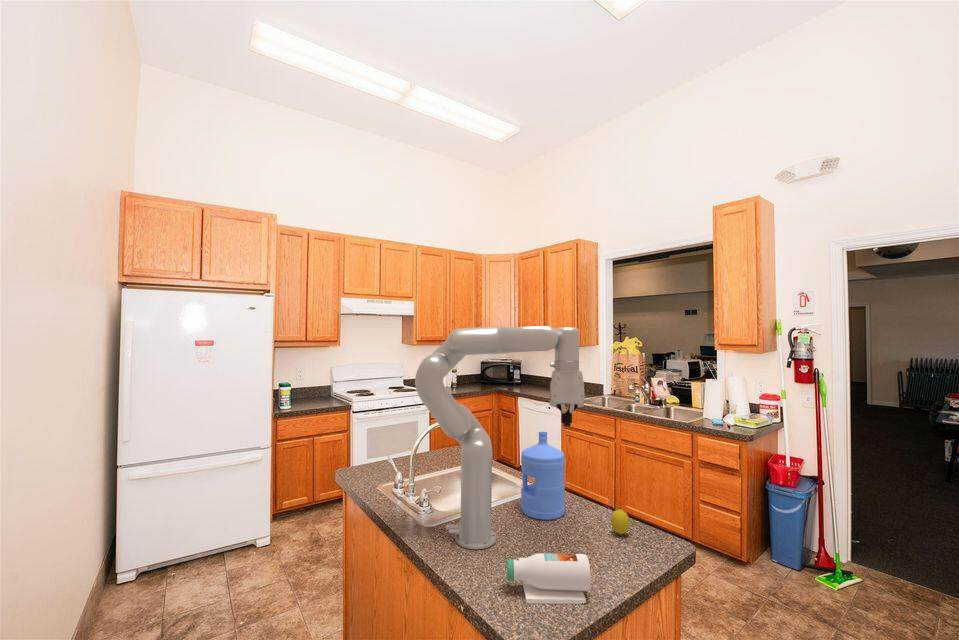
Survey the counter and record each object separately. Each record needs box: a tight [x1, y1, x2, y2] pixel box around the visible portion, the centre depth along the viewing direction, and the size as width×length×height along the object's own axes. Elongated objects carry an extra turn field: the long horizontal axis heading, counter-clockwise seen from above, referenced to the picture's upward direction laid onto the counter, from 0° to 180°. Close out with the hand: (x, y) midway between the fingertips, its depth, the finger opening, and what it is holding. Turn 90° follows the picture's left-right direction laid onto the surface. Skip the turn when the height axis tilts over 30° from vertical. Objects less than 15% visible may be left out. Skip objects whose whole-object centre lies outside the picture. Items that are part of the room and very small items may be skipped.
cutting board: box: [518, 557, 587, 605], centre depth 104 cm, size 14×18×1 cm
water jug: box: [520, 431, 566, 521], centre depth 147 cm, size 16×16×28 cm
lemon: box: [610, 508, 630, 536], centre depth 130 cm, size 6×6×8 cm
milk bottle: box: [506, 552, 592, 592], centre depth 100 cm, size 8×8×20 cm
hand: (566, 425), depth 127 cm, fingers closed
